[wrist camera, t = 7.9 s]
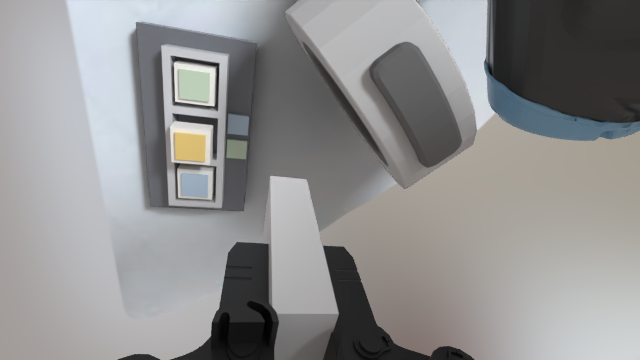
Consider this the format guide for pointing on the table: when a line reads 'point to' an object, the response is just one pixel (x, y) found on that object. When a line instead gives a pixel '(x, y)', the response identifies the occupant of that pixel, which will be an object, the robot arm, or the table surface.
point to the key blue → (195, 181)
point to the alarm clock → (389, 80)
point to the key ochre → (191, 143)
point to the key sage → (195, 83)
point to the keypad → (196, 111)
